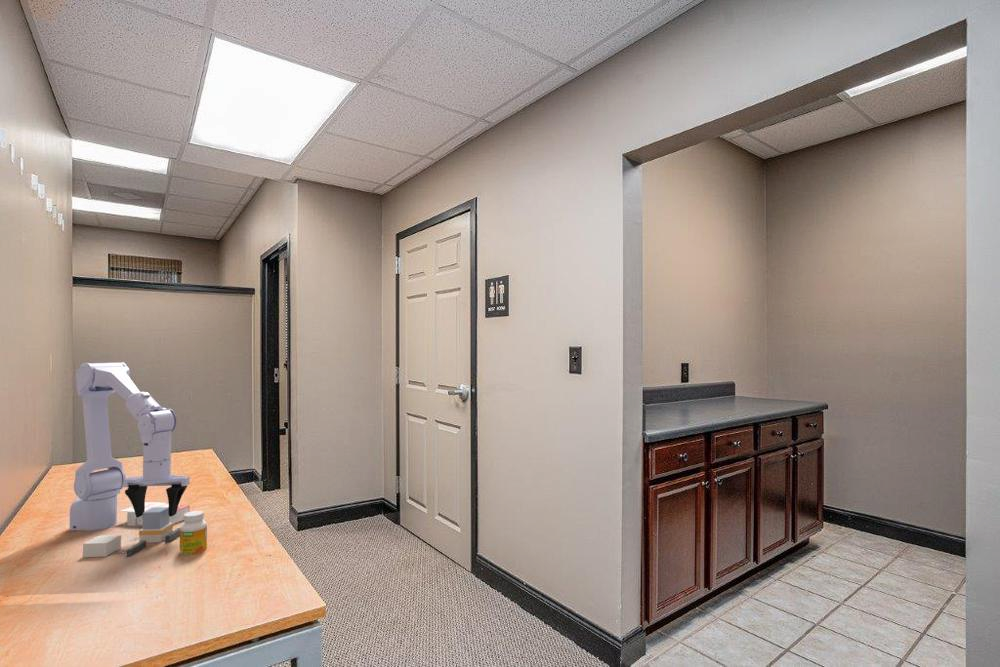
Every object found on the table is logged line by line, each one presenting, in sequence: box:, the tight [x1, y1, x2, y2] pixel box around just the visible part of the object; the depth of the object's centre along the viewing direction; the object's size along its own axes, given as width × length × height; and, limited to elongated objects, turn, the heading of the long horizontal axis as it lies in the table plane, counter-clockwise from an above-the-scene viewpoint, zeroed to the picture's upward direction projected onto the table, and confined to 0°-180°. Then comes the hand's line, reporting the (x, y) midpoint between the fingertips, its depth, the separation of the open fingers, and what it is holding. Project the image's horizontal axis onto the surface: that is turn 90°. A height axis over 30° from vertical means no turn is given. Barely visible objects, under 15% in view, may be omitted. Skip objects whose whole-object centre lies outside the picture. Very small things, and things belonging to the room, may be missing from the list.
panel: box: [117, 527, 180, 558], centre depth 124 cm, size 16×16×3 cm
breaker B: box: [82, 534, 122, 558], centre depth 119 cm, size 5×5×3 cm
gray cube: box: [142, 507, 169, 529], centre depth 128 cm, size 4×4×4 cm
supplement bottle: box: [179, 510, 208, 556], centre depth 121 cm, size 5×5×10 cm
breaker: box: [138, 523, 174, 544], centre depth 128 cm, size 5×5×3 cm
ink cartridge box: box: [118, 501, 191, 528], centre depth 141 cm, size 9×5×15 cm
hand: (156, 515), depth 128 cm, fingers open, 7 cm apart
